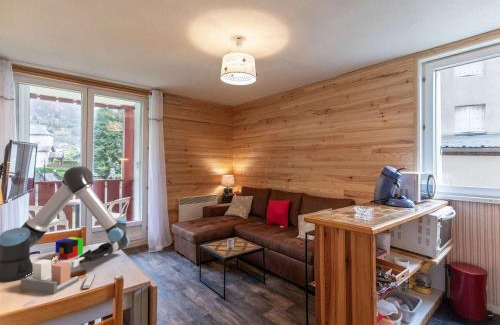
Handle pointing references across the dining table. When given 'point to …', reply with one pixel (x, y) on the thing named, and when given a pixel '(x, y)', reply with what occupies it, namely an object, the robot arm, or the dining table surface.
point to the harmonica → (88, 282)
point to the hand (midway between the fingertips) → (72, 264)
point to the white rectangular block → (42, 269)
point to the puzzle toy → (69, 247)
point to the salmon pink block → (61, 272)
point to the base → (46, 285)
